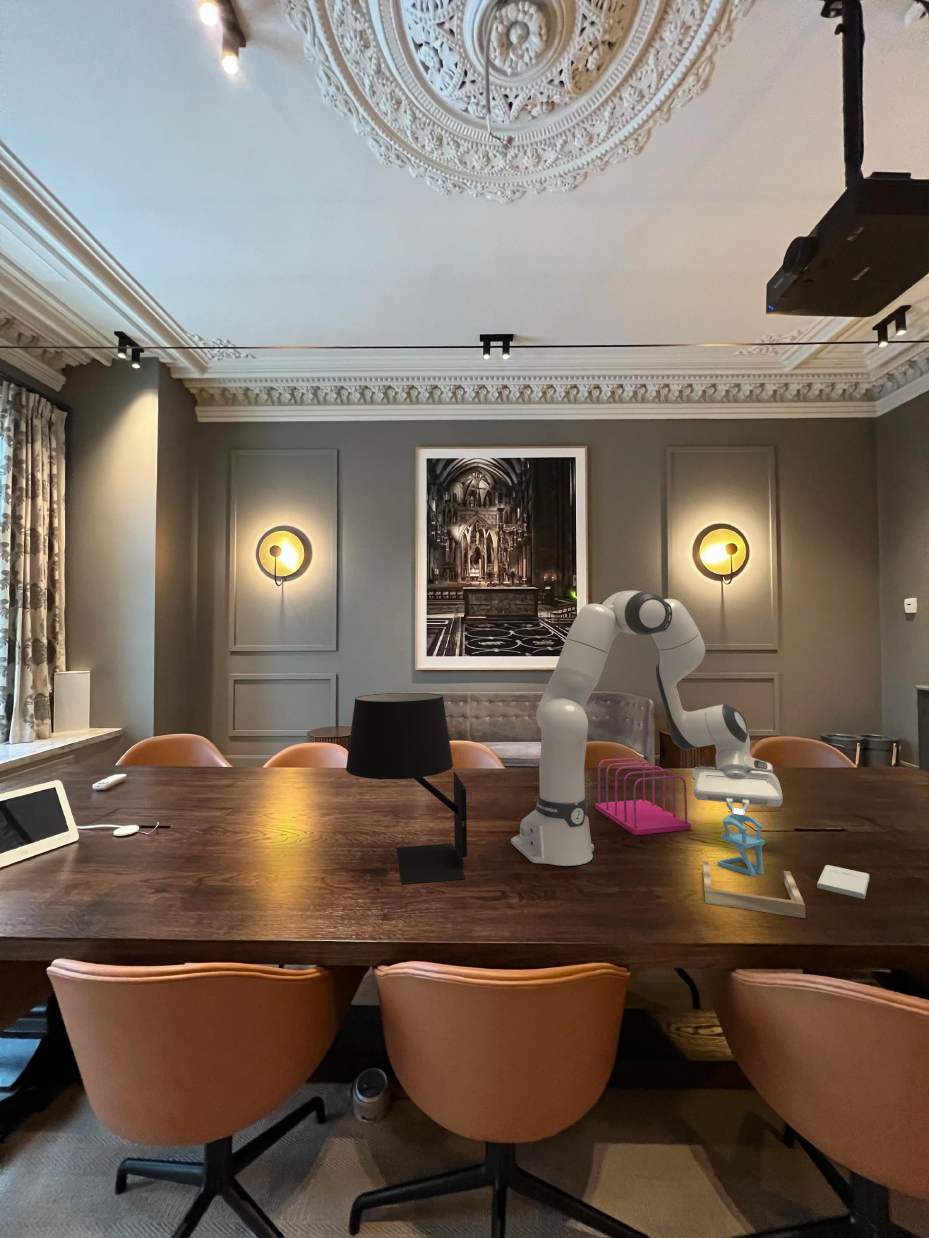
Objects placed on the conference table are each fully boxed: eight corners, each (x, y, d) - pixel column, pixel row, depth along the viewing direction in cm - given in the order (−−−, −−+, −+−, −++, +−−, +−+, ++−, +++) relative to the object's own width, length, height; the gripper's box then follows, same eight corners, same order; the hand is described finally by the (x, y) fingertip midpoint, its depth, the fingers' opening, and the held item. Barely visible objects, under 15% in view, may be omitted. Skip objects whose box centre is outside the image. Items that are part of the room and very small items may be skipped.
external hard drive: (817, 890, 117) (825, 870, 127) (864, 901, 112) (869, 880, 122) (816, 882, 117) (825, 863, 127) (864, 893, 112) (869, 873, 122)
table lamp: (473, 882, 122) (471, 700, 123) (343, 893, 117) (342, 704, 119) (456, 841, 147) (454, 690, 149) (348, 849, 142) (348, 693, 144)
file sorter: (645, 805, 178) (643, 756, 179) (691, 830, 154) (690, 773, 154) (594, 808, 175) (593, 758, 175) (634, 835, 150) (633, 777, 151)
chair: (747, 879, 122) (746, 824, 122) (716, 865, 130) (715, 813, 130) (771, 873, 125) (770, 819, 126) (740, 859, 133) (739, 809, 133)
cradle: (703, 871, 126) (702, 860, 126) (790, 883, 120) (790, 871, 120) (705, 902, 111) (705, 890, 111) (805, 918, 104) (804, 904, 105)
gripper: (691, 758, 147) (692, 806, 137) (779, 764, 139) (786, 815, 130) (691, 772, 151) (693, 819, 141) (776, 778, 143) (784, 828, 134)
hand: (738, 817), depth 135 cm, fingers closed
